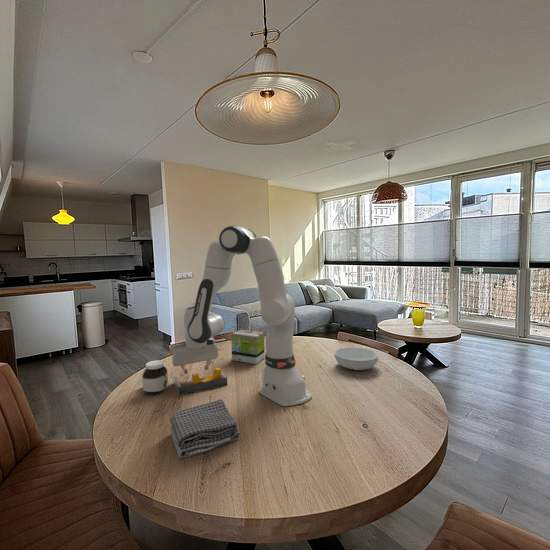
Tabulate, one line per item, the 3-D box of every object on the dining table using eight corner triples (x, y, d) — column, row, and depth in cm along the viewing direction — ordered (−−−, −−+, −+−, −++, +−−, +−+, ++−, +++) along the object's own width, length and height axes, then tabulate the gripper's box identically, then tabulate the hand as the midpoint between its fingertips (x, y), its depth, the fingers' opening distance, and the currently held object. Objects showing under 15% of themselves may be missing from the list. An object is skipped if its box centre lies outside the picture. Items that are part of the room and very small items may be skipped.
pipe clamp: (217, 380, 132) (216, 366, 132) (221, 383, 129) (221, 369, 128) (191, 387, 125) (190, 372, 125) (194, 391, 122) (194, 376, 121)
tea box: (231, 361, 156) (230, 333, 155) (240, 355, 165) (240, 329, 164) (256, 364, 150) (256, 336, 149) (265, 358, 160) (264, 331, 159)
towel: (169, 434, 93) (168, 410, 92) (225, 418, 102) (224, 395, 101) (178, 463, 79) (177, 435, 79) (242, 442, 88) (241, 416, 88)
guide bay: (227, 384, 127) (227, 377, 127) (179, 395, 118) (178, 388, 118) (218, 374, 139) (217, 368, 138) (173, 383, 129) (173, 376, 129)
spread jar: (157, 397, 117) (155, 368, 116) (131, 394, 119) (130, 366, 118) (173, 384, 128) (172, 357, 128) (149, 382, 131) (148, 356, 130)
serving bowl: (387, 368, 143) (387, 354, 143) (358, 379, 132) (358, 363, 131) (353, 356, 160) (353, 344, 160) (325, 365, 149) (325, 351, 148)
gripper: (172, 347, 126) (173, 378, 127) (218, 340, 136) (219, 369, 137) (169, 343, 132) (171, 373, 132) (214, 336, 141) (215, 365, 142)
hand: (196, 371), depth 135 cm, fingers open, 8 cm apart
